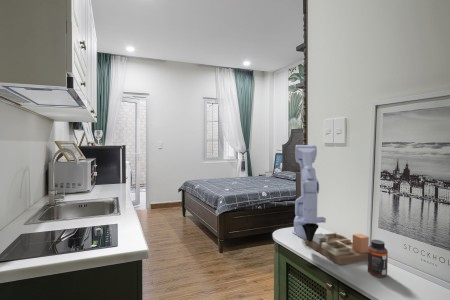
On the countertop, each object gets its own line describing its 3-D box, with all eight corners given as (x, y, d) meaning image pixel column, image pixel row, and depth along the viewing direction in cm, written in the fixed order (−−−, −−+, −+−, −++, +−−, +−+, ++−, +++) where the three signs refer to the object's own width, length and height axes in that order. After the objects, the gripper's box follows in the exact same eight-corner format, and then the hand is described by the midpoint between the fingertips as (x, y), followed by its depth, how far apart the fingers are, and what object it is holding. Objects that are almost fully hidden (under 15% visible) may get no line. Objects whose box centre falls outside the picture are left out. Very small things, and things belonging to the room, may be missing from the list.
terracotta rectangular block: (352, 249, 105) (352, 234, 105) (360, 248, 106) (360, 233, 106) (360, 253, 101) (360, 238, 101) (368, 252, 103) (368, 236, 102)
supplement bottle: (390, 279, 87) (391, 245, 87) (370, 277, 89) (371, 244, 88) (383, 270, 93) (384, 238, 93) (365, 268, 95) (365, 237, 94)
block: (312, 241, 114) (312, 234, 113) (321, 240, 115) (321, 233, 115) (319, 245, 109) (319, 238, 109) (328, 243, 111) (328, 236, 111)
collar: (321, 247, 107) (321, 242, 107) (337, 245, 109) (337, 240, 109) (335, 255, 99) (335, 250, 99) (352, 252, 102) (352, 247, 102)
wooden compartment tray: (305, 244, 117) (305, 235, 117) (334, 239, 122) (334, 231, 122) (340, 265, 97) (340, 254, 97) (373, 258, 102) (373, 248, 102)
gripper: (300, 212, 104) (300, 246, 104) (330, 209, 108) (330, 242, 109) (290, 208, 110) (290, 240, 111) (319, 205, 115) (319, 236, 116)
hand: (309, 240), depth 110 cm, fingers closed
